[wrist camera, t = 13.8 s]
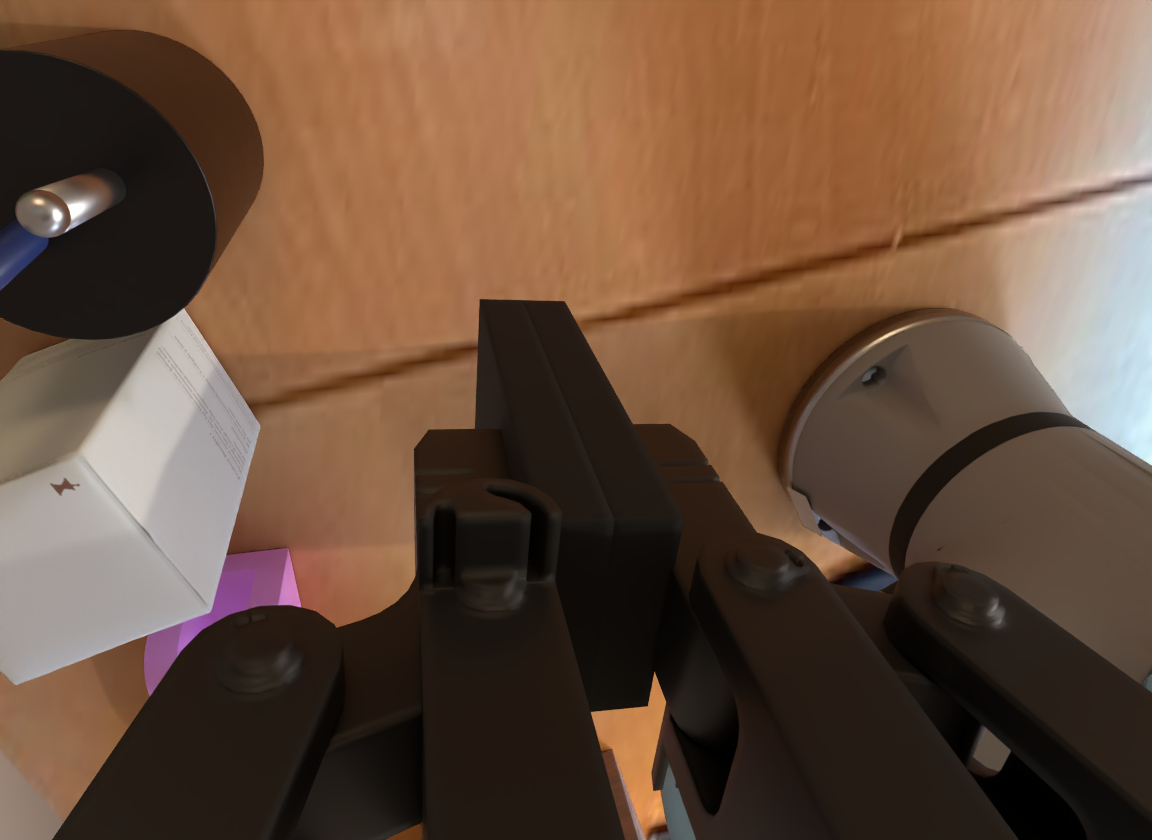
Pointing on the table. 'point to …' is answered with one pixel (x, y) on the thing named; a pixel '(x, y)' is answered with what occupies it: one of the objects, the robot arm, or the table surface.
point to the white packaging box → (114, 492)
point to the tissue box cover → (622, 799)
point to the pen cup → (117, 180)
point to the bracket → (226, 604)
